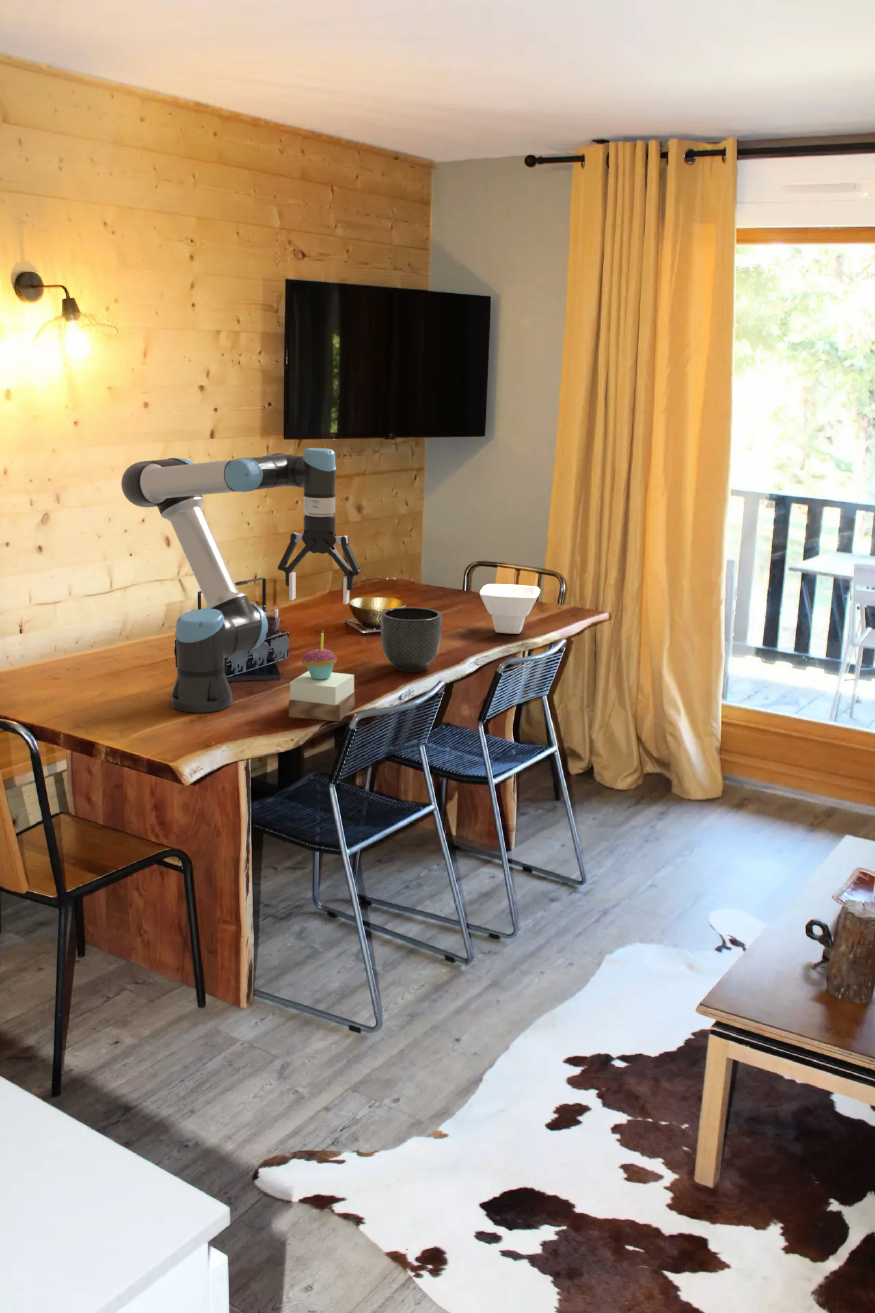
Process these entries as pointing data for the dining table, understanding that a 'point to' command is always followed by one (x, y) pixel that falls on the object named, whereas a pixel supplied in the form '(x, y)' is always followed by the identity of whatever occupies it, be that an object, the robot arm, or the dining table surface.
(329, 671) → the cupcake
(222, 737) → the dining table surface
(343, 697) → the tower top block
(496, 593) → the bowl
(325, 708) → the tower base block
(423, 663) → the planter
